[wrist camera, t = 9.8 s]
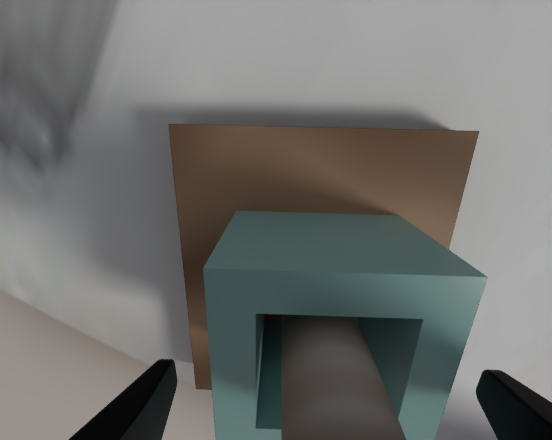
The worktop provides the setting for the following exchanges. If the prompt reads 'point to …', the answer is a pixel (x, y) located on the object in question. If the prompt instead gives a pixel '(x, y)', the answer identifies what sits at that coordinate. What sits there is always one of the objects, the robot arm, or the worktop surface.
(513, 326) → the worktop surface
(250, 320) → the collar
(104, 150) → the worktop surface
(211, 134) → the board
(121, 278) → the worktop surface
